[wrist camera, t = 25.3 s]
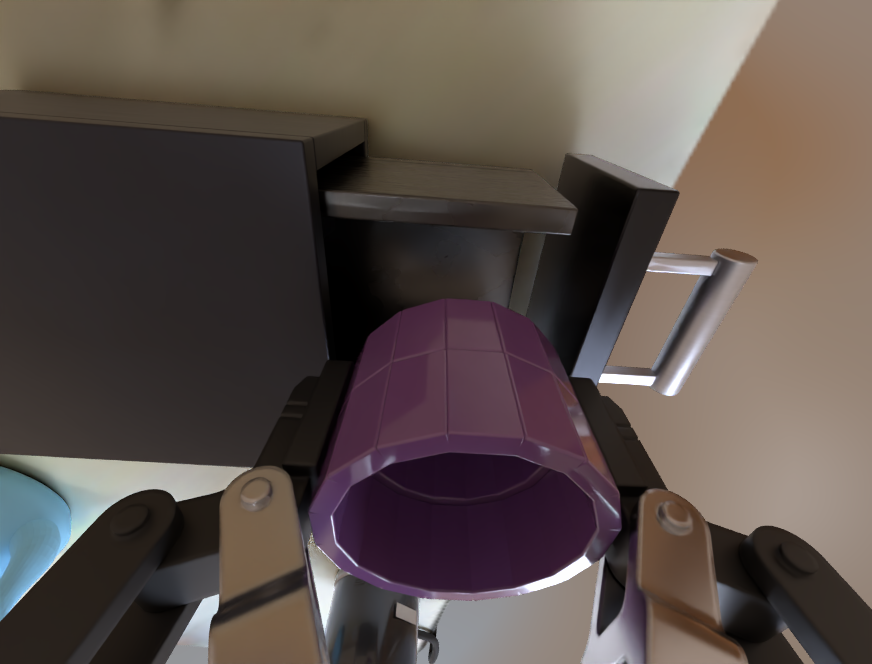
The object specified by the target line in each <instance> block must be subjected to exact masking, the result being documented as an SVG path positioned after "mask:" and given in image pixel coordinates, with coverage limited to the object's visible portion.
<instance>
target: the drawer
mask: <svg viewBox="0 0 872 664" xmlns="http://www.w3.org/2000/svg"><path fill="white" fill-rule="evenodd" d="M316 174H317V184H318V193H319V202H320V211H321V221H322V230H323V239H324V249H325V258H326V267H327V277H328V286H329V295H330V305H331V314H332V323H333V332H334V342H335V351H336V360H338V361H353V362H354V365H355V363H356V360H357V358H358V356H359V354H360V352H361V350H362V348H363V346H364V344H365V342H366V340H367V338H368V337H369V335H370V334H371V333H372V332H374V331H375V330H376V329H377V328H379V327H380V326H381V325H383V324H384V323H385V322H386V321H388V320H389V319H390V318H392V317H393V316H394V315H395V314H397V313H398V312H399V311H402V310H404V309H408V308H411V307H415V306H418V305H422V304H425V303H429V302H432V301H436V300H440V299H445V300H446V299H447V298H452V299H469V300H480V301H490V302H495V303H497V304H499V305H501V306H504V307H506V308H508V306H509V301H510V297H511V292H512V287H513V282H514V278H515V273H516V268H517V263H518V259H519V254H520V249H521V244H522V240H523V235H524V232H529V233H542V234H546V236H545V241H544V245H543V249H542V253H541V257H540V261H539V265H538V269H537V273H536V277H535V281H534V285H533V289H532V293H531V298H530V302H529V306H528V310H527V314H526V317H527V318H529V319H530V320H531V321H532V322H534V324H535V325H536V326H537V327H538V328H539V330H540V331H541V332H542V333H543V334H544V336H545V337H546V338H547V339H548V340H549V342H550V343H551V344H552V345H553V346H554V348H555V350H556V352H557V354H558V357H559V359H560V361H561V363H562V365H563V368H564V370H565V372H566V374H567V377H582V378H590V379H592V380H593V382H594V383H595V385H596V387H597V385H598V383H599V382H602V383H617V384H633V385H648V386H649V387H650V388H652V389H653V390H655V391H656V392H658V393H661V394H663V395H668V396H674V395H676V394H678V393H679V391H680V390H681V388H682V386H683V384H684V383H685V381H686V380H687V378H688V377H689V375H690V373H691V372H692V370H693V368H694V367H695V365H696V363H697V361H698V360H699V358H700V357H701V355H702V353H703V352H704V350H705V349H706V347H707V345H708V344H709V342H710V340H711V339H712V337H713V335H714V334H715V332H716V330H717V329H718V327H719V326H720V324H721V322H722V321H723V319H724V317H725V315H726V314H727V312H728V311H729V309H730V307H731V306H732V304H733V303H734V301H735V299H736V298H737V296H738V294H739V293H740V291H741V289H742V288H743V286H744V284H745V283H746V281H747V280H748V278H749V276H750V275H751V273H752V271H753V270H754V268H755V266H756V264H757V262H758V260H757V259H756V258H755V257H753V256H751V255H749V254H746V253H743V252H740V251H736V250H731V249H715V250H714V251H713V252H712V254H711V256H701V255H687V254H674V253H661V252H655V250H656V248H657V245H658V243H659V241H660V238H661V236H662V234H663V231H664V229H665V227H666V224H667V222H668V220H669V217H670V215H671V213H672V210H673V208H674V206H675V203H676V201H677V199H678V196H679V191H678V190H675V189H673V188H670V187H668V186H666V185H663V184H661V183H658V182H656V181H654V180H651V179H649V178H646V177H644V176H641V175H639V174H637V173H634V172H632V171H629V170H627V169H625V168H622V167H620V166H617V165H615V164H612V163H610V162H608V161H605V160H603V159H600V158H598V157H595V156H593V155H585V154H573V153H567V154H566V155H565V159H564V163H563V167H562V171H561V175H560V179H559V184H558V188H557V190H555V189H554V188H553V187H552V186H551V185H550V184H548V183H547V182H546V181H545V180H544V179H543V178H541V177H540V176H539V175H538V174H537V173H535V172H534V171H533V170H531V169H518V168H506V167H493V166H481V165H468V164H455V163H443V162H430V161H418V160H405V159H392V158H380V157H367V156H354V155H341V156H340V157H338V158H336V159H335V160H333V161H332V162H330V163H328V164H327V165H325V166H323V167H322V168H320V169H319V170H317V171H316ZM646 271H650V272H664V273H678V274H691V275H700V277H699V279H698V281H697V283H696V285H695V286H694V288H693V290H692V292H691V294H690V296H689V298H688V300H687V302H686V304H685V306H684V308H683V310H682V311H681V313H680V315H679V317H678V319H677V321H676V323H675V325H674V326H673V328H672V331H671V332H670V334H669V336H668V338H667V340H666V342H665V344H664V346H663V348H662V349H661V351H660V353H659V355H658V357H657V359H656V361H655V363H654V365H653V367H652V368H651V369H650V368H637V367H636V368H635V367H621V366H606V364H607V362H608V359H609V357H610V354H611V352H612V350H613V348H614V345H615V343H616V341H617V338H618V336H619V334H620V331H621V329H622V327H623V324H624V322H625V320H626V317H627V315H628V313H629V310H630V308H631V306H632V303H633V301H634V299H635V296H636V294H637V292H638V290H639V287H640V285H641V282H642V280H643V278H644V275H645V273H646Z"/></svg>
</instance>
